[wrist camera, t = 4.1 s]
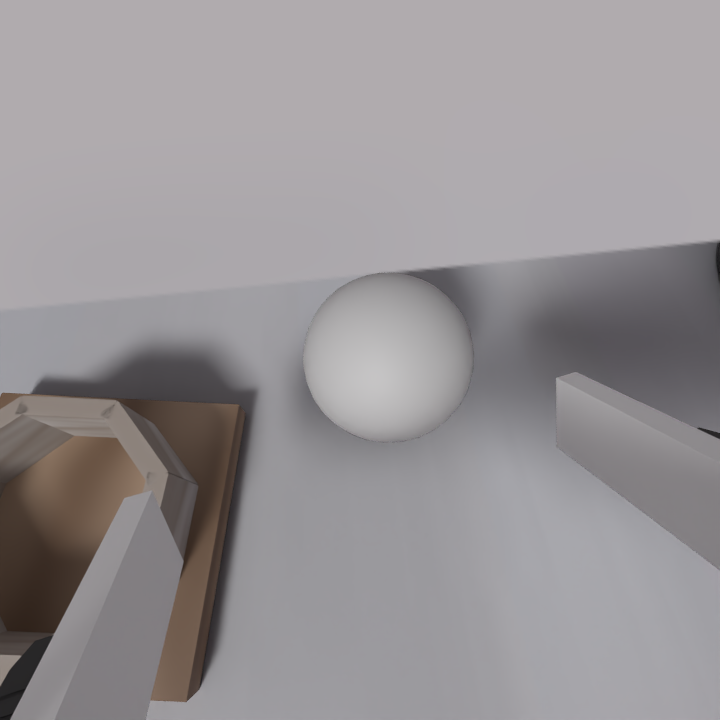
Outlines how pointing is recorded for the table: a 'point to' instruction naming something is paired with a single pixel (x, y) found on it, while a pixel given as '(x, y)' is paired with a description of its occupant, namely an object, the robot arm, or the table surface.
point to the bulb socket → (111, 510)
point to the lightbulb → (388, 357)
